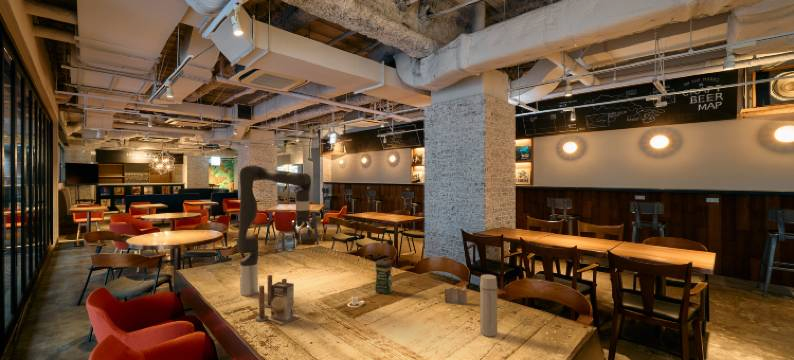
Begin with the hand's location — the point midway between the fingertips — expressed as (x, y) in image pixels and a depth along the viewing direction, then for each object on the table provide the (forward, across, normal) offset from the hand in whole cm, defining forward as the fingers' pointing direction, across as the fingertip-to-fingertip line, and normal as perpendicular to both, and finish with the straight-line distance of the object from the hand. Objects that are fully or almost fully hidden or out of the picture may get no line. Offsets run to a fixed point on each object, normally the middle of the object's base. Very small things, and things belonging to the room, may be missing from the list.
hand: (303, 238), depth 198 cm
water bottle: (+34, +16, -101) cm, 108 cm away
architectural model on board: (+35, +43, -72) cm, 91 cm away
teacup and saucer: (+35, +9, -32) cm, 48 cm away
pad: (+34, -24, -13) cm, 43 cm away
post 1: (+34, -30, -5) cm, 46 cm away
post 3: (+34, -17, -5) cm, 38 cm away
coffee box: (+34, -24, -13) cm, 43 cm away
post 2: (+34, -17, +7) cm, 39 cm away
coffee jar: (+34, +34, -30) cm, 57 cm away
